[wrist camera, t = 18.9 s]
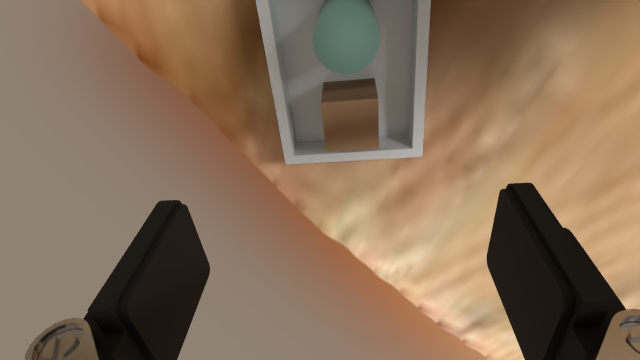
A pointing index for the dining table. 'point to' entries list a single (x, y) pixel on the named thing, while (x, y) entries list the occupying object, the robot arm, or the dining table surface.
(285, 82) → the grey tote
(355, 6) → the teal rounded capsule
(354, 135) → the walnut cube
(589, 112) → the dining table surface
